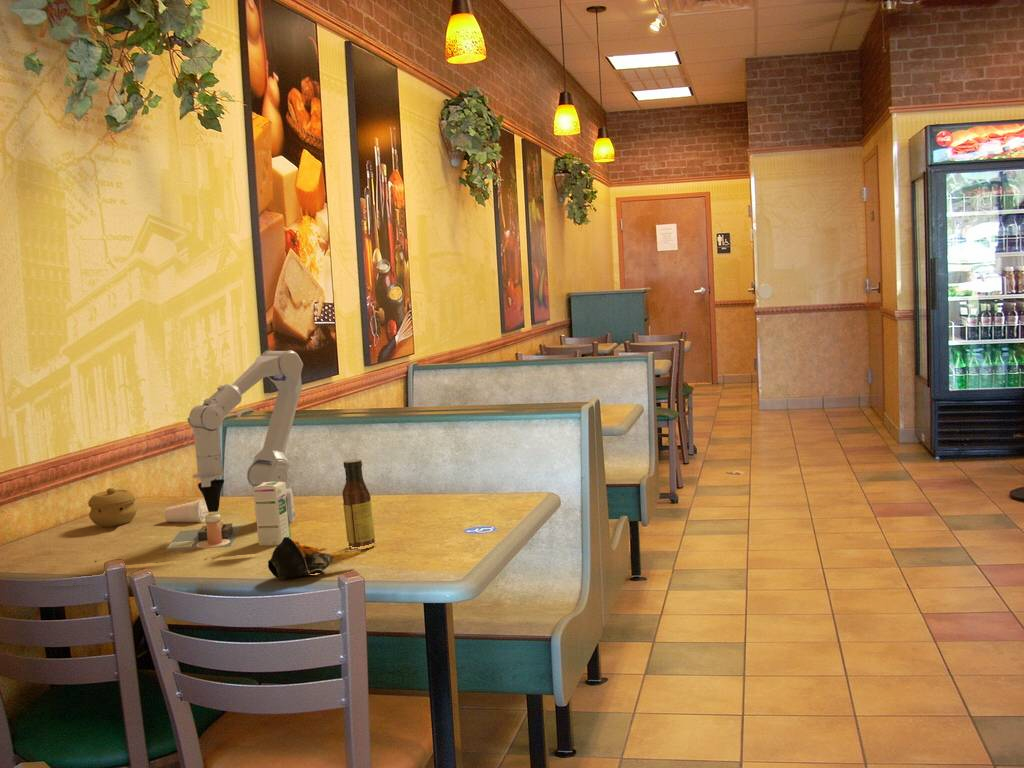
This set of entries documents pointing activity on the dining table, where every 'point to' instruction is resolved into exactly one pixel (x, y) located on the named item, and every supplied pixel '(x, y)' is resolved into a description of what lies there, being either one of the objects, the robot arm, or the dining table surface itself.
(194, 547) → the picture board
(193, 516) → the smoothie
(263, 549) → the dining table surface
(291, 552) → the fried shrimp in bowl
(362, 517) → the sauce bottle
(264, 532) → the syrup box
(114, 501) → the pot
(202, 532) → the button collar
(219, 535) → the terracotta marker
